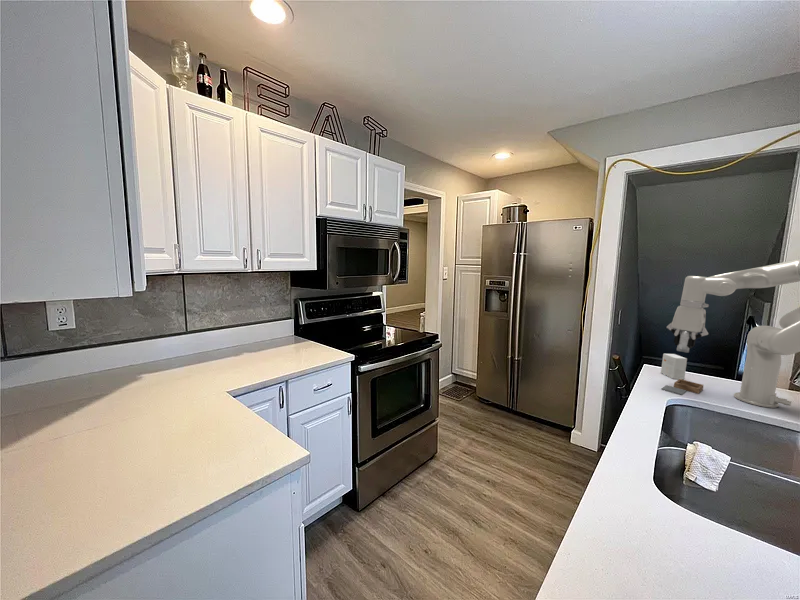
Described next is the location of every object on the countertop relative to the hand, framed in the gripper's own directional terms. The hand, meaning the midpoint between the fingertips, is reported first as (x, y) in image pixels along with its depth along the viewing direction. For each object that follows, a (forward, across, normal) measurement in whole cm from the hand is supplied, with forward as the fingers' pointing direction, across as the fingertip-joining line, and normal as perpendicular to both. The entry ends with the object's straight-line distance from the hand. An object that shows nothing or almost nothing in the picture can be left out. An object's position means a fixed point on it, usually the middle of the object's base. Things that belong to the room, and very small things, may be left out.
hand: (683, 345), depth 142 cm
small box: (+20, +7, -20) cm, 29 cm away
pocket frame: (+20, -3, -7) cm, 21 cm away
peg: (+2, 0, 0) cm, 2 cm away
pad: (+20, 0, +3) cm, 20 cm away
